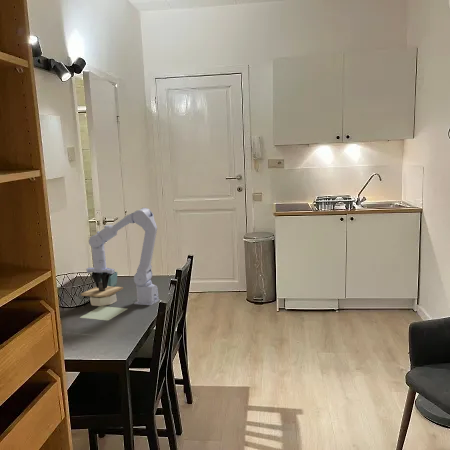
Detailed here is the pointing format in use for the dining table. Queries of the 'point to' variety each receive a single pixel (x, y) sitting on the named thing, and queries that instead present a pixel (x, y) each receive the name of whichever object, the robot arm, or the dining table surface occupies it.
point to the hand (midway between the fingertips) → (102, 287)
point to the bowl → (103, 300)
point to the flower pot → (112, 280)
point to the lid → (101, 291)
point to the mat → (103, 313)
